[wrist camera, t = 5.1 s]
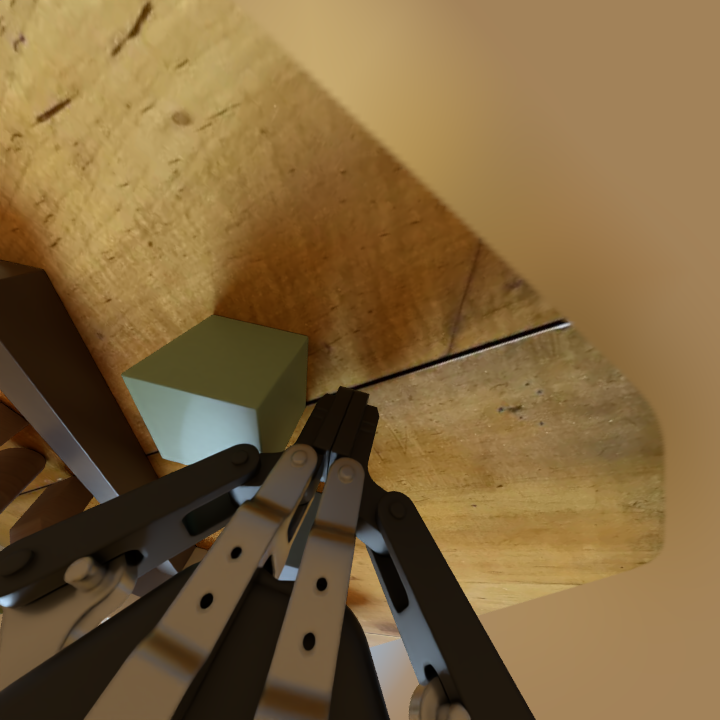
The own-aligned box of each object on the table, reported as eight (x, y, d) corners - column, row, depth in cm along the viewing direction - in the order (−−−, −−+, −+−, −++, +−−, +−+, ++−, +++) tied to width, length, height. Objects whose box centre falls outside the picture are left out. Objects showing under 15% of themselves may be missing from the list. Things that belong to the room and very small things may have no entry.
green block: (309, 335, 13) (257, 408, 9) (306, 407, 16) (266, 487, 12) (212, 313, 13) (118, 373, 9) (227, 388, 16) (161, 459, 12)
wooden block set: (158, 493, 33) (109, 596, 24) (91, 520, 32) (18, 634, 24) (15, 386, 23) (-154, 492, 14) (-81, 423, 23) (-312, 553, 14)
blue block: (325, 494, 21) (302, 570, 17) (321, 522, 24) (301, 592, 20) (265, 478, 21) (229, 548, 17) (268, 507, 24) (238, 573, 20)
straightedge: (43, 269, 13) (-40, 289, 11) (198, 551, 35) (182, 578, 33) (-9, 257, 14) (-103, 273, 11) (177, 545, 36) (160, 571, 33)
